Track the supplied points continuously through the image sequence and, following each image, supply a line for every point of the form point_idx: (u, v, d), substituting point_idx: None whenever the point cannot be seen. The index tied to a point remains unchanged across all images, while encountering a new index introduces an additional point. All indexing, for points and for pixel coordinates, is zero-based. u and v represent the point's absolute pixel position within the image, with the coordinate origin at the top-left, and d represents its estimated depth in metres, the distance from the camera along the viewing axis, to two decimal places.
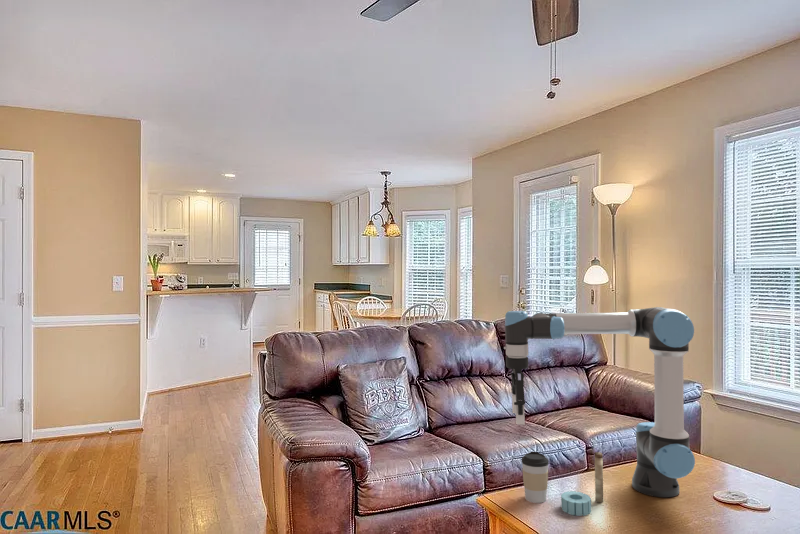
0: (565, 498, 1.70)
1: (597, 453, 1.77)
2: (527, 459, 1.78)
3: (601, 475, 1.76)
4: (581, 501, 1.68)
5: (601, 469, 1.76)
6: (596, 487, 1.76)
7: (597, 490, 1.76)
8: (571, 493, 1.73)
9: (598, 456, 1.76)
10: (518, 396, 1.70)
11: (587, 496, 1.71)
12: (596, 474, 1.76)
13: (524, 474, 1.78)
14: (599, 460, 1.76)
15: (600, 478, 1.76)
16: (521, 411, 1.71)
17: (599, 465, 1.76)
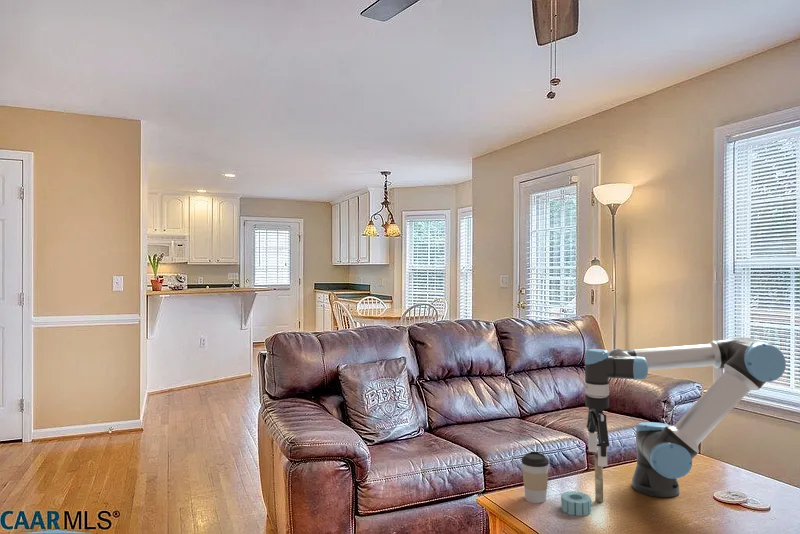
0: (565, 498, 1.70)
1: (597, 453, 1.77)
2: (527, 459, 1.78)
3: (601, 475, 1.76)
4: (581, 501, 1.68)
5: (601, 469, 1.76)
6: (596, 487, 1.76)
7: (597, 490, 1.76)
8: (571, 493, 1.73)
9: None
10: (602, 438, 1.68)
11: (587, 496, 1.71)
12: (596, 474, 1.76)
13: (524, 474, 1.78)
14: None
15: (600, 478, 1.76)
16: (604, 453, 1.69)
17: None
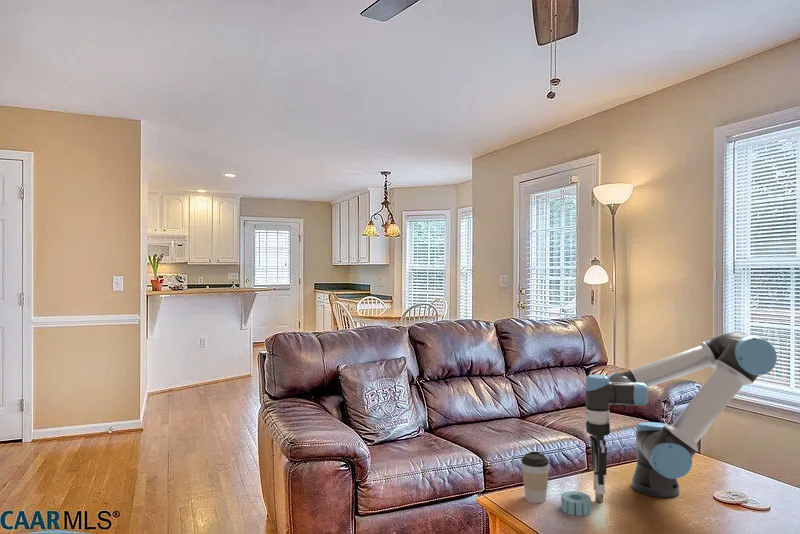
0: (565, 498, 1.70)
1: None
2: (527, 459, 1.78)
3: None
4: (581, 501, 1.68)
5: None
6: None
7: None
8: (571, 493, 1.73)
9: None
10: (600, 468, 1.72)
11: (587, 496, 1.71)
12: None
13: (524, 474, 1.78)
14: None
15: None
16: (602, 481, 1.74)
17: None
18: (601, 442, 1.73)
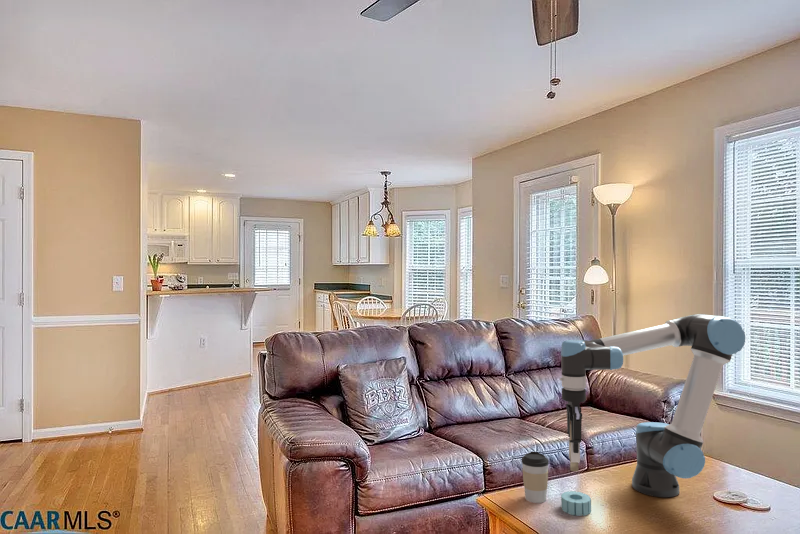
0: (565, 498, 1.70)
1: None
2: (527, 459, 1.78)
3: None
4: (581, 501, 1.68)
5: None
6: None
7: None
8: (571, 493, 1.73)
9: None
10: (575, 435, 1.66)
11: (587, 496, 1.71)
12: None
13: (524, 474, 1.78)
14: None
15: None
16: (577, 449, 1.68)
17: None
18: (576, 409, 1.67)
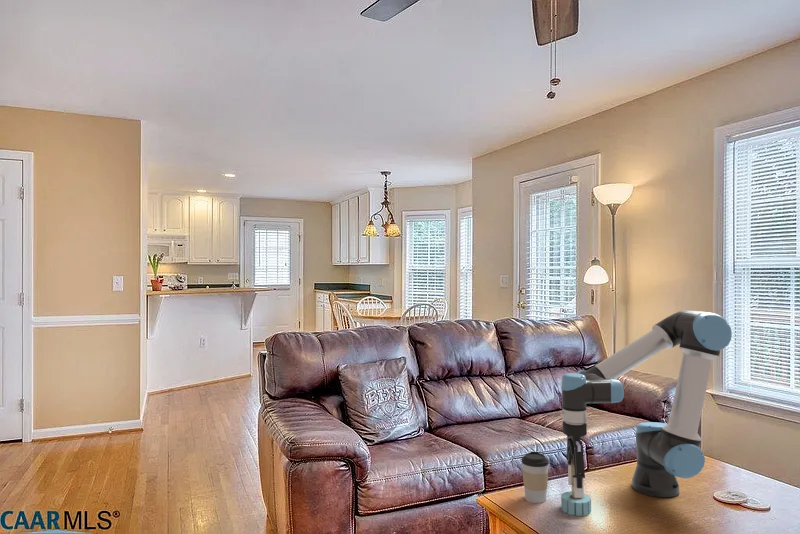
0: (565, 498, 1.70)
1: None
2: (527, 459, 1.78)
3: None
4: (581, 501, 1.68)
5: None
6: (572, 495, 1.71)
7: (573, 498, 1.70)
8: (571, 493, 1.73)
9: None
10: (578, 470, 1.63)
11: (587, 496, 1.71)
12: (572, 481, 1.70)
13: (524, 474, 1.78)
14: None
15: None
16: (580, 484, 1.65)
17: None
18: (577, 442, 1.67)
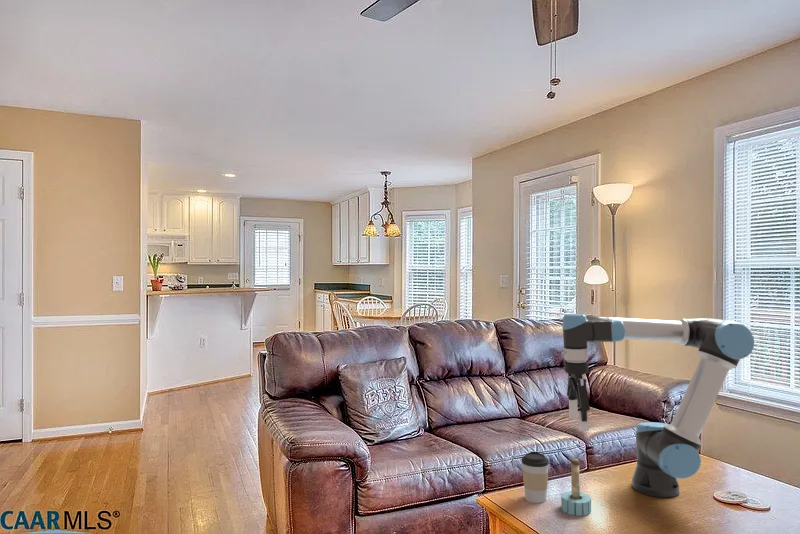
0: (565, 498, 1.70)
1: (574, 460, 1.71)
2: (527, 459, 1.78)
3: (578, 482, 1.70)
4: (581, 501, 1.68)
5: (578, 476, 1.70)
6: (572, 495, 1.71)
7: (573, 498, 1.70)
8: (571, 493, 1.73)
9: (575, 463, 1.70)
10: (582, 402, 1.65)
11: (587, 496, 1.71)
12: (572, 481, 1.70)
13: (524, 474, 1.78)
14: (575, 467, 1.70)
15: (576, 485, 1.70)
16: (585, 417, 1.66)
17: (576, 472, 1.70)
18: (579, 378, 1.70)
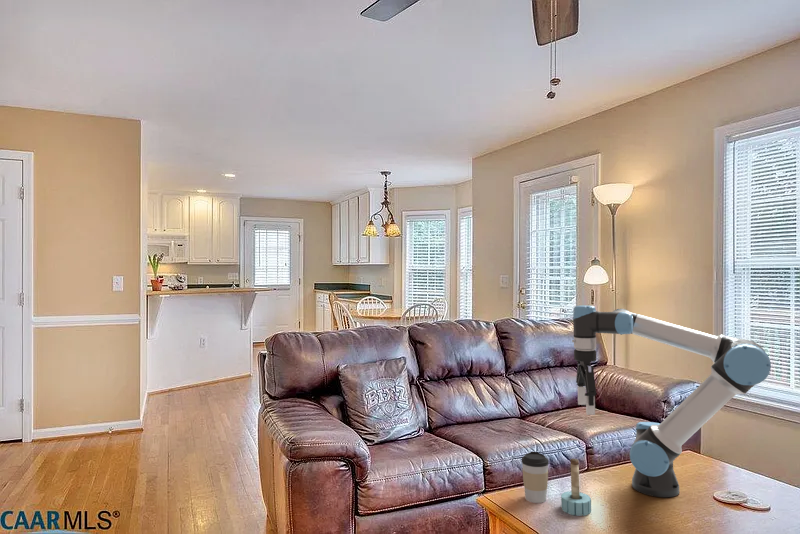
0: (565, 498, 1.70)
1: (573, 459, 1.71)
2: (527, 459, 1.78)
3: (577, 482, 1.70)
4: (581, 501, 1.68)
5: (577, 476, 1.70)
6: (572, 495, 1.71)
7: (573, 498, 1.70)
8: None
9: (574, 463, 1.70)
10: (589, 387, 1.76)
11: (587, 496, 1.71)
12: (572, 481, 1.71)
13: (524, 474, 1.78)
14: (575, 467, 1.70)
15: (576, 485, 1.70)
16: (592, 402, 1.77)
17: (575, 472, 1.70)
18: (588, 365, 1.81)
